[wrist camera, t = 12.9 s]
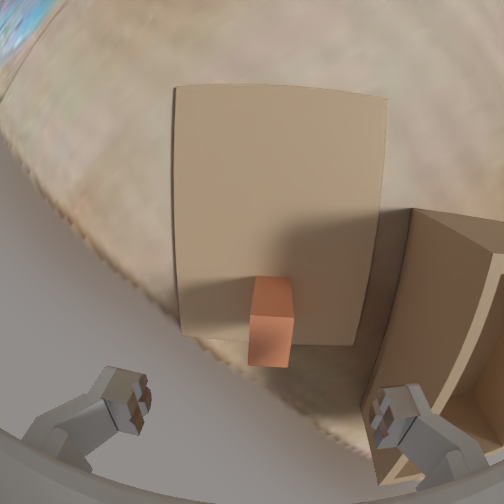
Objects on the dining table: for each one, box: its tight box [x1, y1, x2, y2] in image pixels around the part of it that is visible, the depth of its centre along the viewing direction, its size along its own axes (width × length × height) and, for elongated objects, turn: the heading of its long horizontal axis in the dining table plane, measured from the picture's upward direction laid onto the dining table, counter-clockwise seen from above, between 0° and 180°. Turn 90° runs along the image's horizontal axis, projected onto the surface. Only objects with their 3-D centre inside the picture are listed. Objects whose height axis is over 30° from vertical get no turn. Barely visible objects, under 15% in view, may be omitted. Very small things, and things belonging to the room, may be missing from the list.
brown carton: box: [360, 208, 504, 486], centre depth 14 cm, size 16×12×8 cm
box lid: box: [174, 84, 387, 368], centre depth 15 cm, size 16×12×5 cm
